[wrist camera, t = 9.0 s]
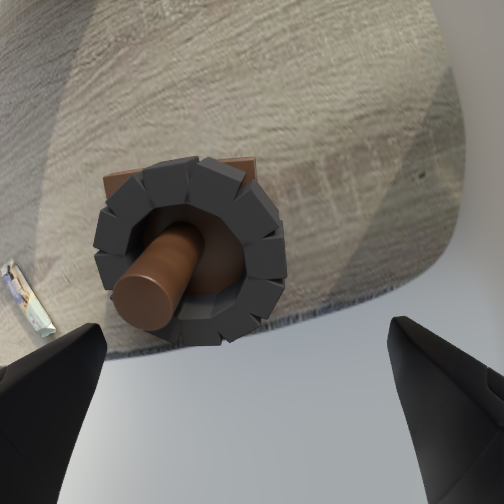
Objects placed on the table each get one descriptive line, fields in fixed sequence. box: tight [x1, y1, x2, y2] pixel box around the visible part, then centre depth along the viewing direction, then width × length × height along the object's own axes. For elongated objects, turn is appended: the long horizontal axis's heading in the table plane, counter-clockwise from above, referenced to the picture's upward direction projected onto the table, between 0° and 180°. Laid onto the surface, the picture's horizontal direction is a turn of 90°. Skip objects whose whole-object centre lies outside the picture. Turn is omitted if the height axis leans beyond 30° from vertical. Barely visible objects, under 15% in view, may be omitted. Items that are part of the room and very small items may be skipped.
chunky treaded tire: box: [93, 156, 287, 346], centre depth 15 cm, size 9×9×2 cm
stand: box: [103, 157, 257, 331], centre depth 14 cm, size 8×8×7 cm
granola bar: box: [0, 258, 56, 338], centre depth 20 cm, size 7×2×1 cm, turn 24°
